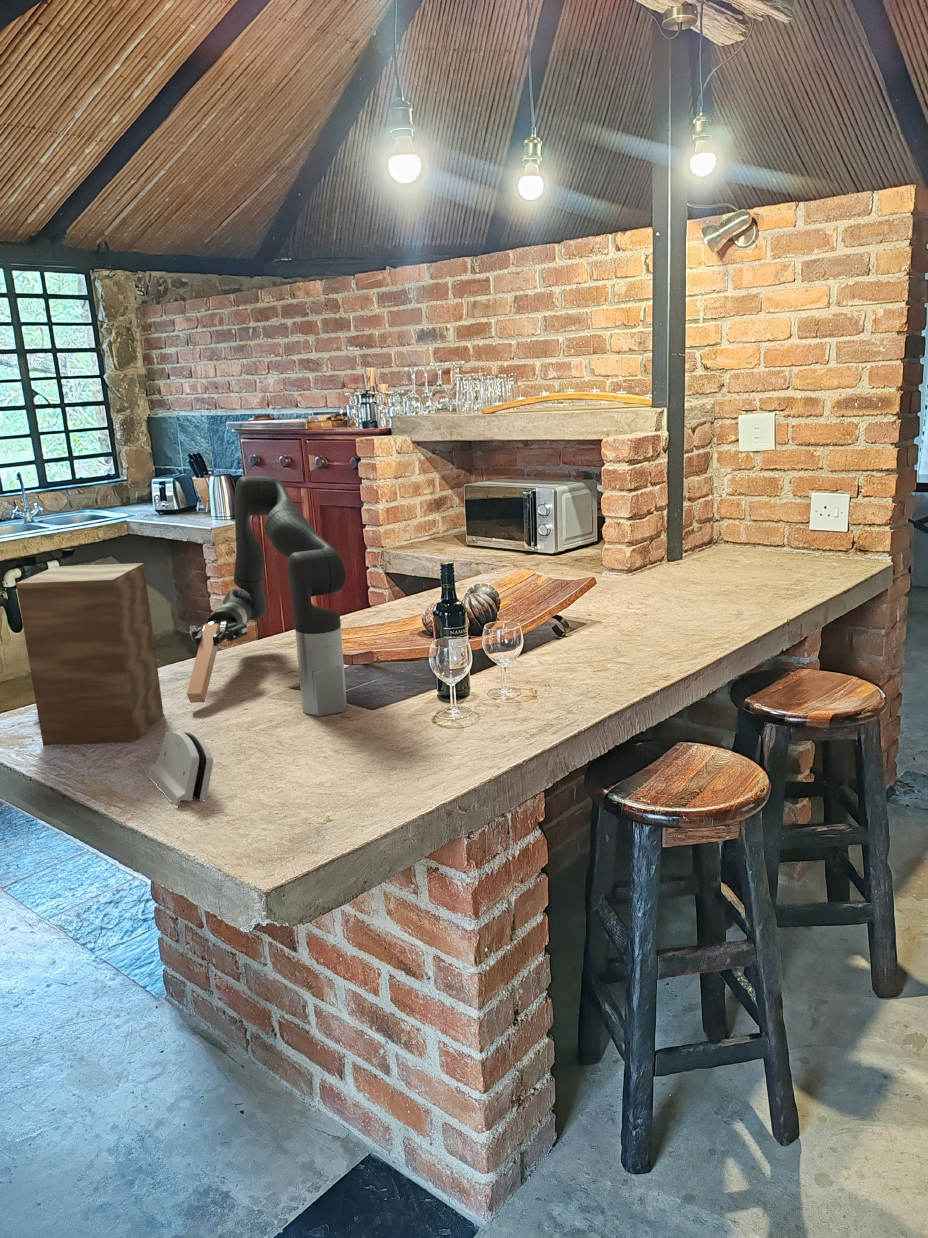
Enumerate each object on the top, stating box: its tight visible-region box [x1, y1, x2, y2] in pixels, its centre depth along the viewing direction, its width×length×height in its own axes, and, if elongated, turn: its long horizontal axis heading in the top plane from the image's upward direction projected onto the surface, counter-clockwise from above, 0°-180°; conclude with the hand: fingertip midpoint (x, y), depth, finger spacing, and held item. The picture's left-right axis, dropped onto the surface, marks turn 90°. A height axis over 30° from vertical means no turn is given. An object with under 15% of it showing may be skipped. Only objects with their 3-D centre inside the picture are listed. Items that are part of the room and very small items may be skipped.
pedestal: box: [15, 562, 164, 746], centre depth 178 cm, size 16×18×32 cm
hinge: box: [147, 730, 214, 807], centre depth 153 cm, size 17×5×10 cm, turn 34°
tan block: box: [186, 623, 220, 704], centre depth 197 cm, size 20×3×3 cm
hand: (206, 641), depth 199 cm, fingers closed on tan block, 3 cm apart
